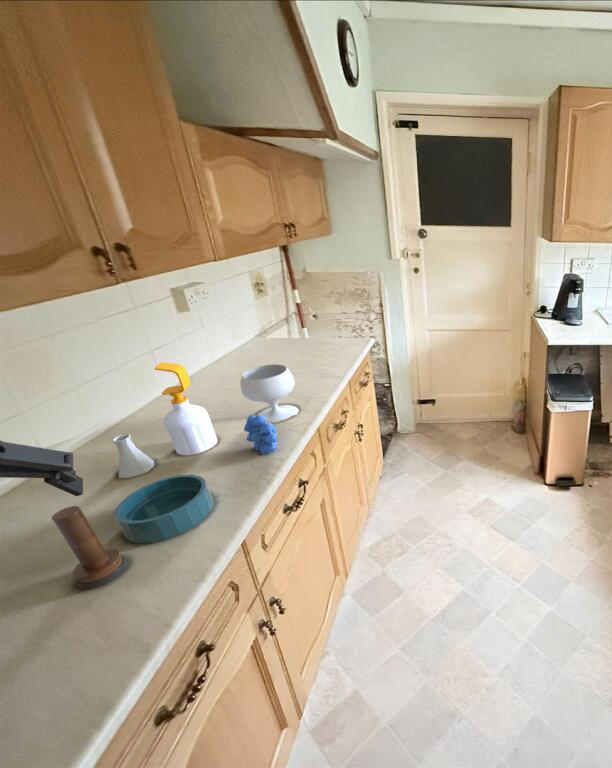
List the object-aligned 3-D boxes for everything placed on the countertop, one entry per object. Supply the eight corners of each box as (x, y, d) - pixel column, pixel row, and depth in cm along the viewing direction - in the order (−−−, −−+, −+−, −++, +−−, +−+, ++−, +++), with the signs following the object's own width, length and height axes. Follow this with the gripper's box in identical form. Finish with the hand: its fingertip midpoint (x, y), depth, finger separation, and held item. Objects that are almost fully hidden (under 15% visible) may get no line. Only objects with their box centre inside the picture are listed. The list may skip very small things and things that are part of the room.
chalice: (244, 430, 116) (229, 384, 109) (258, 408, 128) (245, 365, 122) (297, 424, 119) (285, 378, 113) (305, 403, 131) (295, 361, 125)
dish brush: (69, 593, 68) (24, 528, 62) (102, 562, 74) (64, 499, 67) (108, 591, 68) (67, 526, 62) (138, 561, 74) (103, 498, 68)
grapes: (296, 451, 106) (285, 412, 101) (272, 464, 101) (259, 424, 96) (268, 440, 111) (257, 402, 106) (244, 452, 106) (231, 413, 101)
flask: (125, 466, 100) (108, 433, 96) (161, 460, 102) (146, 427, 98) (112, 484, 94) (94, 449, 90) (150, 476, 96) (134, 442, 92)
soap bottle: (184, 441, 110) (151, 359, 100) (222, 436, 113) (194, 356, 102) (171, 460, 102) (133, 373, 92) (211, 454, 105) (179, 369, 95)
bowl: (106, 547, 77) (92, 524, 74) (162, 496, 90) (152, 475, 87) (184, 545, 78) (174, 522, 75) (228, 494, 91) (220, 473, 88)
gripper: (-382, 533, 34) (-114, 570, 52) (15, 436, 44) (127, 494, 62) (-344, 458, 37) (-104, 516, 55) (19, 383, 47) (125, 453, 65)
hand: (19, 505), depth 58 cm, fingers open, 13 cm apart
